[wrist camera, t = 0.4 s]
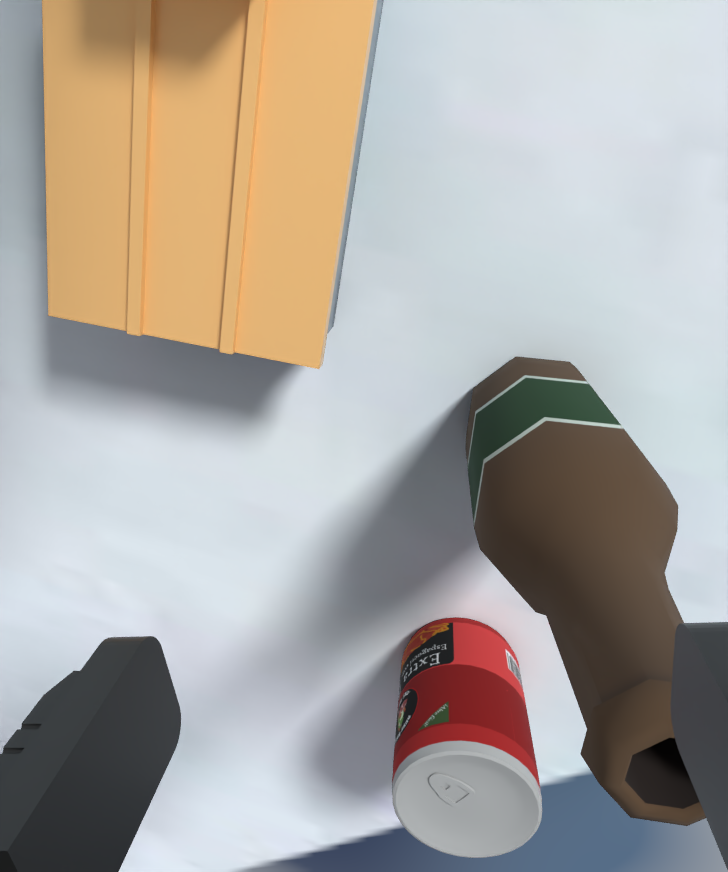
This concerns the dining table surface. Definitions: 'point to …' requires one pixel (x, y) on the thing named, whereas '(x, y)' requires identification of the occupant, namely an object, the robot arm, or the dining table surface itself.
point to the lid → (202, 166)
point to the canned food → (464, 743)
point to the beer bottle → (587, 566)
